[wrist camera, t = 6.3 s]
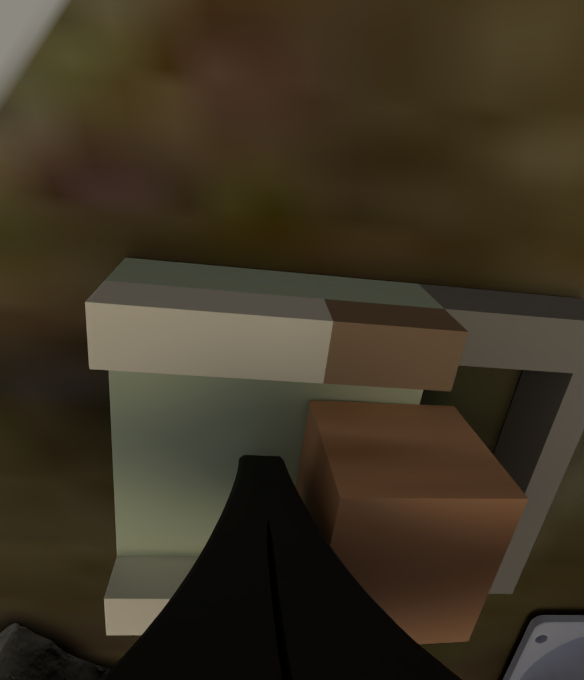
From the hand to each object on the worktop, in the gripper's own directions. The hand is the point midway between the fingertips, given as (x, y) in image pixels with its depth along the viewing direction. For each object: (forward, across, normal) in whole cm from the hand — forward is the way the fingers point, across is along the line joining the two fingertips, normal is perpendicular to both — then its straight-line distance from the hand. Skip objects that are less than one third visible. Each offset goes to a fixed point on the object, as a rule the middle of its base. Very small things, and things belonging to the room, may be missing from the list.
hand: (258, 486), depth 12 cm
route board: (+3, -3, 0) cm, 4 cm away
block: (+1, -3, 0) cm, 3 cm away
